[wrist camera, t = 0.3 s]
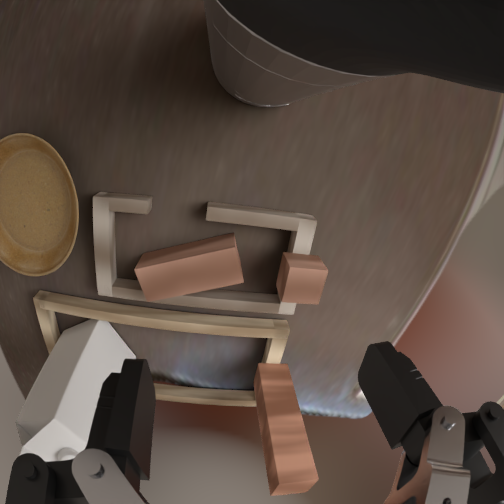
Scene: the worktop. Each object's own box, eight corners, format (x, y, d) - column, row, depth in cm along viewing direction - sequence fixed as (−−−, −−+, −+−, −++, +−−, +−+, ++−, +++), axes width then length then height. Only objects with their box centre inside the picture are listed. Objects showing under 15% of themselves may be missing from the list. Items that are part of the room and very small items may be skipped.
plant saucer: (88, 123, 22) (75, 124, 19) (96, 269, 28) (87, 282, 25) (-15, 140, 20) (-29, 144, 18) (0, 261, 26) (-12, 271, 23)
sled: (39, 289, 27) (-36, 392, 12) (294, 320, 32) (341, 453, 16) (62, 370, 32) (23, 466, 17) (270, 396, 37) (292, 505, 22)
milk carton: (97, 368, 33) (58, 491, 16) (64, 329, 30) (2, 453, 13) (137, 356, 32) (105, 498, 15) (102, 312, 29) (40, 458, 12)
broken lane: (100, 191, 24) (78, 205, 20) (320, 216, 27) (338, 234, 23) (103, 285, 28) (88, 311, 24) (297, 305, 31) (308, 333, 27)
